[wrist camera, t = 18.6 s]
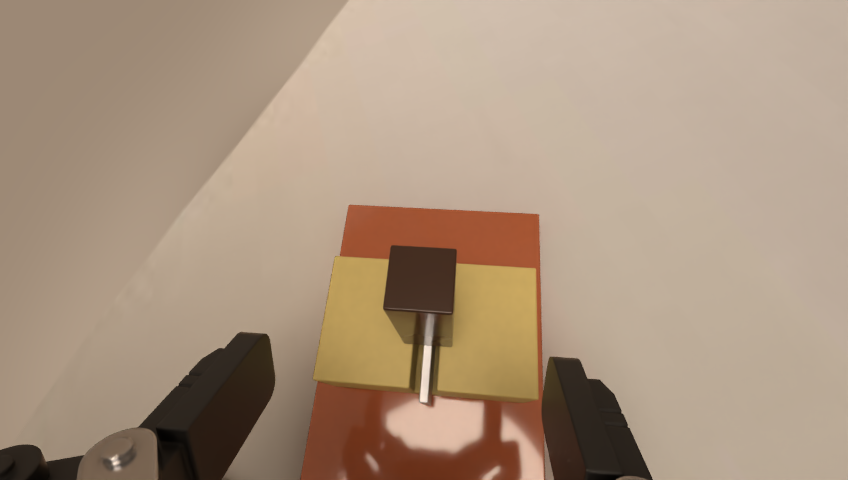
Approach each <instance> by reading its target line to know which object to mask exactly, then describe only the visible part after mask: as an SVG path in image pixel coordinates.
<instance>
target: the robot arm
mask: <svg viewBox="0 0 848 480" xmlns="http://www.w3.org/2000/svg"><path fill="white" fill-rule="evenodd" d="M274 386H275V372H274V365H273V358H272V351H271V344H270V339H269V336H268V335H267V334H260V333H247V332H240V333H238V334H237V335H236V336H235V337H234V338H233V339H232V341H231V342H230V343H229V344H228V345H227V346H226V347H225V348H224V349H222V348H219V349H217V350H215V351H214V352H212V353H211V354H209V355H207V356H206V357H204V358H203V359H201V360H200V361H199V362H198V363H197V365H196V366H195V367H194V368H193V369H192V370H191V371H190V372H189V375H186V376H185V377H184V379H183V380H182V381H181V382H180V383H179V386H176V387H175V388H174V389H173V390H172V391H171V392H170V394H169V395H168V396H167V397H166V398H165V399H164V400H163V401H162V402H161V403H160V404H159V405H158V406H157V408H156V409H155V410H154V411H153V412H152V413H151V414H150V415H149V416H148V417H147V418H146V419H145V420H144V422H143V423H142V424H141V425H140V426H139V427H138V428H131V429H126V430H122V431H119V432H117V433H114V434H112V435H110V436H108V437H106V438H104V439H103V440H101V441H100V442H98V443H97V444H96V445H94V446H93V447H92V448H91V449H90V450H89V451H88V452H87V453H86V454H85V455H83V456H77V457H71V458H65V459H60V460H54V461H48V462H46V461H45V459H44V457H43V454H42V452H41V450H40V449H39V448H38V447H36V446H34V445H17V446H13V447H9V448H6V449H2V450H0V480H222V478H223V476H224V475H225V473H226V471H227V470H228V468H229V466H230V465H231V463H232V461H233V460H234V458H235V456H236V455H237V453H238V451H239V450H240V448H241V447H242V445H243V443H244V442H245V440H246V438H247V437H248V435H249V433H250V432H251V430H252V428H253V427H254V425H255V423H256V422H257V420H258V418H259V417H260V415H261V414H262V412H263V410H264V409H265V407H266V405H267V404H268V402H269V400H270V399H271V396H272V394H273V391H274ZM541 411H542V424H543V429H544V433H545V438H546V443H547V447H548V452H549V457H550V462H551V466H552V471H553V476H554V480H653V479H652V477H651V475H650V472H649V470H648V468H647V466H646V464H645V461H644V459H643V457H642V455H641V453H640V450H639V448H638V446H637V444H636V442H635V439H634V437H633V435H632V433H631V431H630V428H628V424H627V422H626V420H625V417H624V415H623V414H622V413H621V409H620V406H619V404H618V402H617V400H616V398H615V395H614V394H613V393H612V392H611V391H610V390H609V389H608V388H607V387H606V386H605V385H604V384H603V383H602V382H601V381H600V380H597V379H587V377H586V374H585V372H584V369H583V367H582V364H581V362H580V360H579V359H576V358H563V357H550V358H549V361H548V366H547V372H546V378H545V385H544V391H543V397H542V409H541Z"/></svg>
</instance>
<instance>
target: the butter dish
mask: <svg viewBox="0 0 848 480" xmlns="http://www.w3.org/2000/svg"><path fill="white" fill-rule="evenodd" d="M391 245H398V246H416V247H433V248H451V249H456V250H457V263H458V264H475V265H491V266H507V267H524V268H535V269H536V290H537V341H538V393H539V398H538V400H534V401H530V402H526V403H516V402H505V401H493V400H482V399H471V398H460V397H449V396H437V395H432V402H431V405H423V404H422V403H420V402H419V394H415V393H404V392H393V391H381V390H370V389H359V388H348V387H337V386H332V385H329V384H326V383H322V382H317V388H316V393H315V399H314V405H313V410H312V416H311V422H310V427H309V433H308V439H307V444H306V450H305V456H304V461H303V467H302V473H301V478H300V480H545V454H544V429H543V424H542V411H541V409H542V397H543V369H542V326H541V283H540V241H539V215H538V214H523V213H503V212H483V211H463V210H443V209H423V208H403V207H383V206H363V205H349V207H348V212H347V218H346V224H345V229H344V235H343V241H342V246H341V252H340V256H343V257H359V258H376V259H389V255H390V247H391Z"/></svg>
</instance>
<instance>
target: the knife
mask: <svg viewBox="0 0 848 480" xmlns="http://www.w3.org/2000/svg"><path fill="white" fill-rule="evenodd" d="M456 265H457V250H456V249H451V248H433V247H416V246H398V245H391V247H390V255H389V263H388V271H387V279H386V287H385V295H384V303H383V310H384V311H385V313H386V315H387V316H388V318H389V320H390V321H391V323H392V324H393V326H394V328H395V329H396V331H397V333H398V334H399V336H400V337H401V339H402V341H403V342H404V343H405V344H416V345H424V346H423V358H422V370H421V382H420V393H419V402H420V403H422V404H423V405H431V402H432V388H433V375H434V361H435V347H436V346H442V347H452V346H453V329H454V312H455V291H456Z"/></svg>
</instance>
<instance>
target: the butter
mask: <svg viewBox="0 0 848 480" xmlns="http://www.w3.org/2000/svg"><path fill="white" fill-rule="evenodd" d="M388 263H389V259H376V258H359V257H343V256H335V259H334V264H333V270H332V275H331V281H330V286H329V292H328V297H327V303H326V308H325V314H324V319H323V325H322V330H321V336H320V341H319V347H318V352H317V358H316V364H315V369H314V375H313V380H315V381H318V382H322V383H326V384H329V385H332V386H337V387H348V388H359V389H370V390H381V391H393V392H404V393H415V394H419V393H420V382H421V370H422V358H423V346H424V345H416V344H405V343H404V342H403V341H402V339H401V337H400V336H399V334H398V333H397V331H396V329H395V328H394V326H393V324H392V323H391V321H390V320H389V318H388V316H387V315H386V313H385V311H384V310H383V303H384V295H385V287H386V279H387V271H388ZM432 395H437V396H449V397H460V398H471V399H482V400H493V401H505V402H516V403H526V402H530V401H534V400H538V398H539V393H538V341H537V290H536V269H535V268H524V267H507V266H491V265H475V264H458V263H457V265H456V291H455V312H454V329H453V346H452V347H442V346H436V347H435V361H434V375H433V388H432Z"/></svg>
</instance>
